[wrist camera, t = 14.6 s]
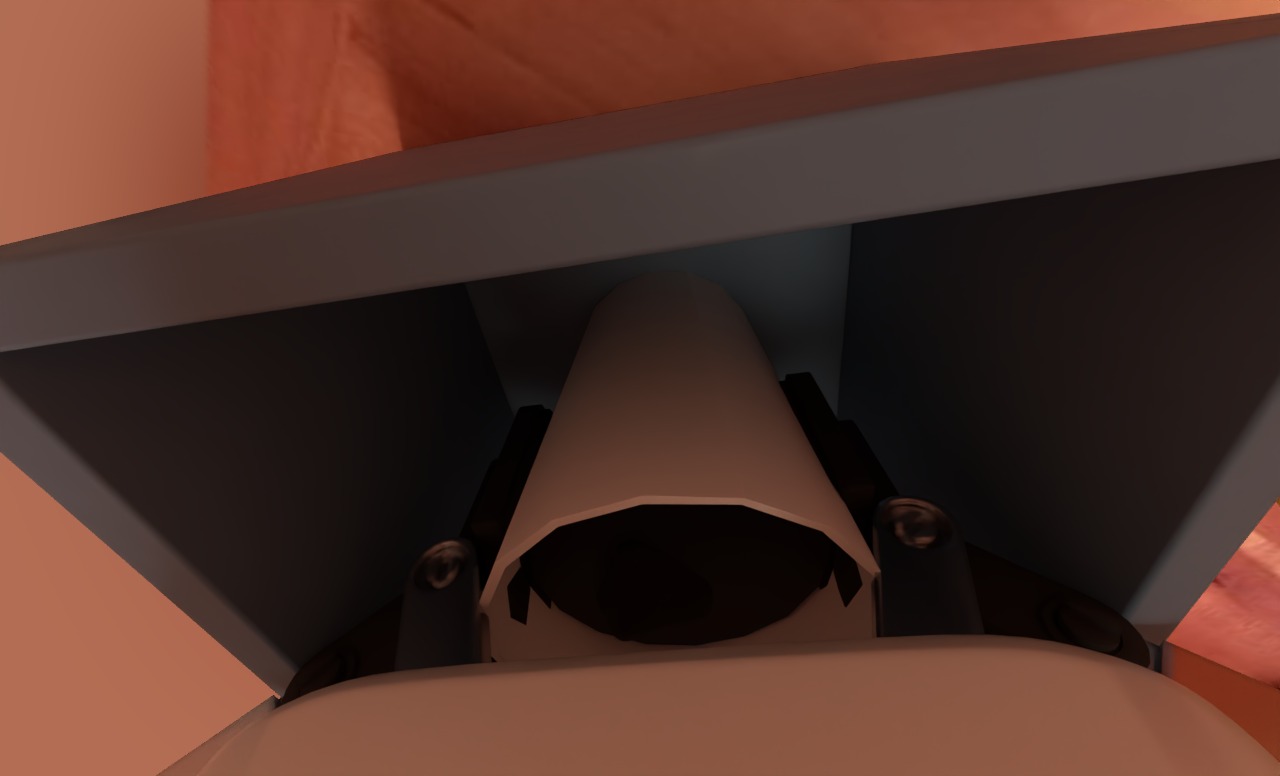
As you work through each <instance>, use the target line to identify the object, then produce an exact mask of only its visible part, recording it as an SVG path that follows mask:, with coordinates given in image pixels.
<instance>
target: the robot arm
mask: <svg viewBox="0 0 1280 776" xmlns="http://www.w3.org/2000/svg"><path fill="white" fill-rule="evenodd" d="M778 382H779V384H780V386H781V388H782V390H783V392H784V394H785V396H786V398H787V400H788V402H789V404H790V406H791V408H792V410H793V412H794V414H795V416H796V418H797V420H798V422H799V423H800V425H801V427H802V429H803V431H804V433H805V435H806V437H807V439H808V440H809V442H810V444H811V446H812V448H813V450H814V452H815V454H816V456H817V457H818V459H819V461H820V463H821V465H822V467H823V469H824V471H825V473H826V474H827V476H828V478H829V480H830V482H831V483H832V485H833V486H834V487H835V489H836V490H837V491H838V493H839V494H840V496H841V498H842V500H843V501H844V502H845V504H846V506H847V508H848V510H849V512H850V514H851V516H852V517H853V519H854V521H855V523H856V525H857V527H858V529H859V531H860V533H861V534H862V536H863V538H864V540H865V542H866V544H867V546H868V548H869V549H870V551H871V553H872V555H873V557H874V560H875V562H876V564H877V565H878V567H879V569H880V571H881V572H875V574H874V579H873V581H872V582H871V610H872V638H856V639H839V640H823V641H806V642H790V643H773V644H757V645H740V646H725V647H709V648H694V649H679V650H663V651H648V652H634V653H619V654H604V655H589V656H575V657H561V658H547V659H533V660H519V661H505V662H497V661H496V660H495V659H494V658H493V657H492V656H491V643H490V626H489V617H488V616H487V615H486V613H485V611H484V610H483V608H482V606H481V604H480V603H479V601H480V599H481V596H482V593H483V591H484V588H485V586H486V583H487V581H488V578H489V576H490V573H491V571H492V568H493V565H494V563H495V560H496V558H497V555H498V553H499V550H500V548H501V545H502V543H503V540H504V537H505V535H506V532H507V530H508V527H509V525H510V522H511V520H512V517H513V515H514V512H515V510H516V507H517V504H518V502H519V499H520V497H521V494H522V492H523V489H524V487H525V484H526V482H527V479H528V476H529V474H530V471H531V469H532V466H533V464H534V461H535V459H536V456H537V454H538V451H539V448H540V446H541V443H542V441H543V438H544V436H545V433H546V431H547V428H548V426H549V423H550V420H551V418H552V415H553V413H552V411H551V409H545V408H544V406H543V405H542V404H539V405H531V406H522V407H520V408H519V409H518V412H517V414H516V417H515V419H514V422H513V424H512V426H511V429H510V431H509V434H508V436H507V438H506V441H505V443H504V446H503V448H502V450H501V453H500V455H499V458H497V459H494V460H493V461H492V462H491V464H490V465H489V468H488V470H487V472H486V475H485V477H484V479H483V482H482V484H481V486H480V489H479V491H478V493H477V496H476V498H475V500H474V502H473V505H472V507H471V509H470V512H469V514H468V516H467V519H466V521H465V523H464V526H463V528H462V530H461V533H460V535H459V537H452V538H448V539H443V540H441V541H439V542H437V543H434V544H432V545H431V546H429V547H428V548H427V549H425V550H424V551H422V552H421V553H420V554H419V555H418V556H417V557H416V558H415V559H414V561H413V562H412V564H411V565H410V567H409V569H408V571H407V574H406V578H405V585H404V592H403V593H402V594H400V595H399V596H398V597H396V598H395V599H393V600H392V601H391V602H389V603H388V604H386V605H385V606H384V607H382V608H381V609H379V610H378V611H376V612H375V613H374V614H372V615H371V616H369V617H368V618H367V619H365V620H364V621H362V622H361V623H360V624H358V625H357V626H355V627H354V628H353V629H351V630H350V631H348V632H347V633H345V634H344V635H343V636H341V637H340V638H338V639H337V640H336V641H334V642H333V643H331V644H330V645H329V646H327V647H326V648H324V649H323V650H322V651H320V652H319V653H317V654H316V655H315V656H314V657H312V658H311V659H310V660H309V661H308V662H306V663H305V664H304V665H303V666H302V668H301V669H300V670H299V671H298V672H297V673H296V674H295V676H294V677H293V679H292V680H291V682H290V684H289V685H288V687H287V688H286V691H285V694H284V696H283V697H281V698H280V699H278V698H276V697H275V696H274V695H273V696H271V697H270V698H269V699H267V700H266V701H264V702H263V703H261V704H260V705H258V706H257V707H255V708H254V709H252V710H251V711H250V712H248V713H247V714H245V715H244V716H242V717H241V718H239V719H238V720H236V721H235V722H233V723H232V724H231V725H229V726H228V727H226V728H225V729H223V730H222V731H220V732H219V733H218V734H216V735H215V736H213V737H212V738H210V739H209V740H208V741H206V742H204V743H203V744H201V745H200V746H199V747H197V748H196V749H194V750H193V751H191V752H190V753H188V754H187V755H185V756H184V757H182V758H181V759H180V760H178V761H177V762H175V763H174V764H173V765H171V766H169V767H168V768H167V769H165V770H164V771H162V772H161V773H159V774H158V775H156V776H1280V690H1279V689H1276V688H1274V687H1272V686H1269V685H1267V684H1265V683H1262V682H1260V681H1258V680H1255V679H1253V678H1251V677H1248V676H1246V675H1244V674H1241V673H1239V672H1237V671H1234V670H1232V669H1230V668H1227V667H1225V666H1223V665H1221V664H1218V663H1216V662H1214V661H1211V660H1209V659H1207V658H1204V657H1202V656H1200V655H1197V654H1195V653H1193V652H1190V651H1188V650H1186V649H1183V648H1181V647H1179V646H1176V645H1174V644H1172V643H1169V642H1167V641H1165V640H1163V642H1162V643H1161V644H1160V646H1158V645H1156V644H1154V643H1151V642H1149V641H1147V640H1144V639H1143V637H1142V635H1141V634H1140V633H1139V632H1138V631H1137V630H1136V629H1135V627H1134V626H1133V625H1132V624H1131V623H1130V622H1129V621H1128V620H1127V619H1125V618H1124V617H1123V616H1121V615H1120V614H1119V613H1118V612H1116V611H1115V610H1114V609H1112V608H1110V607H1108V606H1107V605H1105V604H1103V603H1101V602H1099V601H1097V600H1096V599H1094V598H1091V597H1089V596H1087V595H1085V594H1082V593H1080V592H1078V591H1076V590H1073V589H1071V588H1069V587H1067V586H1064V585H1062V584H1060V583H1058V582H1055V581H1053V580H1051V579H1049V578H1046V577H1044V576H1042V575H1040V574H1037V573H1035V572H1033V571H1031V570H1028V569H1026V568H1024V567H1022V566H1019V565H1017V564H1015V563H1013V562H1010V561H1008V560H1006V559H1004V558H1001V557H999V556H997V555H995V554H993V553H990V552H988V551H986V550H984V549H981V548H979V547H977V546H975V545H972V544H970V543H968V542H966V541H964V536H963V532H962V529H961V527H960V524H959V522H958V520H957V519H956V518H955V517H954V516H953V515H952V514H951V513H950V512H949V511H948V510H947V509H945V508H944V507H942V506H941V505H939V504H937V503H935V502H933V501H931V500H928V499H926V498H922V497H917V496H913V495H899V493H898V491H897V490H896V488H895V487H894V485H893V483H892V482H891V480H890V478H889V477H888V475H887V474H886V472H885V470H884V469H883V467H882V465H881V464H880V462H879V461H878V459H877V457H876V456H875V454H874V453H873V451H872V449H871V448H870V446H869V444H868V443H867V441H866V440H865V438H864V436H863V435H862V433H861V431H860V430H859V428H858V427H857V425H856V424H855V422H854V421H853V420H850V419H849V420H840V421H838V420H837V418H836V416H835V414H834V413H833V411H832V409H831V407H830V406H829V404H828V402H827V400H826V399H825V397H824V395H823V393H822V392H821V390H820V388H819V386H818V385H817V383H816V381H815V379H814V378H813V376H812V374H811V373H810V372H802V373H793V374H786V376H785V380H783V381H778ZM829 540H830V544H831V547H832V550H831V553H830V556H829V559H828V562H827V565H826V567H825V570H824V573H823V576H822V579H821V582H820V585H819V588H820V590H821V589H823V588H825V587H826V586H827V585H828V582H829V580H830V577H831V574H832V571H833V572H834V576H835V580H836V583H837V587H838V590H839V593H840V596H841V598H842V601H843V604H844V606H845V607H846V608H847V606H848V605H849V603H850V602H851V601H852V599H853V598H854V596H855V595H856V594H857V592H858V591H859V589H860V588H861V587H862V585H863V583H862V580H861V576H860V573H859V570H858V566H857V563H856V561H855V560H854V559H853V558H852V557H851V556H850V555H849V554H847V553H846V552H845V551H844V550H843V549H842V548H841V547H839V546H838V545H837V544H836V543H835V542H834V541H833V540H832V539H830V538H829ZM519 559H520V564H521V566H520V568H519V569H518V571H517V572H516V574H515V575H514V577H513V578H512V580H511V581H510V583H509V584H508V585H507V592H508V600H509V608H510V617H511V618H512V619H514V620H516V621H518V622H520V623H522V624H524V625H526V624H527V615H528V606H529V598H530V589H531V588H532V589H533V590H534V592H535V593H536V594H537V595H538V596H539V597H540V598H541V600H542V601H543V602H544V603H545V604H546V605H547V607H548V608H549V609H551V601H552V600H551V599H550V598H549V597H548V596H547V594H546V593H545V592H544V591H543V590H542V588H541V587H540V586H539V585H538V584H537V582H536V581H535V580H534V579H533V574H532V569H531V564H530V558H529V553H528V550H527V551H526V552H525V553H523V554H522V555H521V556H520V557H519ZM521 568H522V569H521ZM833 568H834V569H833ZM530 587H531V588H530Z"/></svg>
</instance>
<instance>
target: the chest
mask: <svg viewBox="0 0 1280 776" xmlns="http://www.w3.org/2000/svg"><path fill="white" fill-rule="evenodd" d="M651 271H680V272H690V273H692V274H695V275H697V276H699V277H702V278H704V279H706V280H709V281H711V282H713V283H716V284H718V285H720V286H721V287H722V288H723V289H724V290H725V291H726V292H727V293H728V294H729V295H730V296H731V298H732V299H733V300H734V301H735V302H736V303H737V304H738V305H739V306H740V307H741V308H742V309H743V312H744V314H745V316H746V318H747V319H748V321H749V323H750V325H751V327H752V329H753V331H754V333H755V334H756V336H757V338H758V340H759V342H760V344H761V346H762V348H763V350H764V351H765V353H766V355H767V357H768V359H769V361H770V363H771V365H772V367H773V368H774V370H775V372H776V374H777V376H778V378H779V380H780V381H783V380H785V376H786V374H793V373H802V372H810V373H811V374H812V376H813V378H814V379H815V381H816V383H817V385H818V386H819V388H820V390H821V392H822V393H823V395H824V397H825V399H826V400H827V402H828V404H829V406H830V407H831V409H832V411H833V413H834V414H835V416H836V418H837V420H838V421H840V420H849V419H850V420H853V421H854V422H855V424H856V425H857V427H858V428H859V430H860V431H861V433H862V435H863V436H864V438H865V440H866V441H867V443H868V444H869V446H870V448H871V449H872V451H873V453H874V454H875V456H876V457H877V459H878V461H879V462H880V464H881V465H882V467H883V469H884V470H885V472H886V474H887V475H888V477H889V478H890V480H891V482H892V483H893V485H894V487H895V488H896V490H897V491H898V493H899V495H913V496H917V497H922V498H926V499H928V500H931V501H933V502H935V503H937V504H939V505H941V506H942V507H944V508H945V509H947V510H948V511H949V512H950V513H951V514H952V515H953V516H954V517H955V518H956V519H957V520H958V522H959V524H960V527H961V529H962V532H963V536H964V541H966V542H968V543H970V544H972V545H975V546H977V547H979V548H981V549H984V550H986V551H988V552H990V553H993V554H995V555H997V556H999V557H1001V558H1004V559H1006V560H1008V561H1010V562H1013V563H1015V564H1017V565H1019V566H1022V567H1024V568H1026V569H1028V570H1031V571H1033V572H1035V573H1037V574H1040V575H1042V576H1044V577H1046V578H1049V579H1051V580H1053V581H1055V582H1058V583H1060V584H1062V585H1064V586H1067V587H1069V588H1071V589H1073V590H1076V591H1078V592H1080V593H1082V594H1085V595H1087V596H1089V597H1091V598H1094V599H1096V600H1097V601H1099V602H1101V603H1103V604H1105V605H1107V606H1108V607H1110V608H1112V609H1114V610H1115V611H1116V612H1118V613H1119V614H1120V615H1121V616H1123V617H1124V618H1125V619H1127V620H1128V621H1129V622H1130V623H1131V624H1132V625H1133V626H1134V627H1135V629H1136V630H1137V631H1138V632H1139V633H1140V634H1141V635H1142V637H1143V639H1144V640H1147V641H1149V642H1151V643H1154V644H1156V645H1158V646H1160V644H1161V643H1162V642H1163V640H1165V641H1166V640H1167V638H1168V637H1169V636H1170V635H1171V633H1172V632H1173V631H1174V629H1175V628H1176V627H1177V626H1178V624H1179V623H1180V622H1181V621H1182V619H1183V618H1184V617H1185V616H1186V614H1187V613H1188V612H1189V610H1190V609H1191V608H1192V607H1193V605H1194V604H1195V603H1196V602H1197V600H1198V599H1199V598H1200V597H1201V595H1202V594H1203V593H1204V592H1205V590H1206V589H1207V588H1208V586H1209V585H1210V584H1211V583H1212V581H1213V580H1214V579H1215V578H1216V576H1217V575H1218V574H1219V573H1220V571H1221V570H1222V569H1223V568H1224V566H1225V565H1226V564H1227V562H1228V561H1229V560H1230V559H1231V557H1232V556H1233V555H1234V554H1235V552H1236V551H1237V550H1238V549H1239V547H1240V546H1241V545H1242V543H1243V542H1244V541H1245V540H1246V538H1247V537H1248V536H1249V535H1250V533H1251V532H1252V531H1253V530H1254V528H1255V527H1256V526H1257V525H1258V523H1259V522H1260V521H1261V519H1262V518H1263V517H1264V516H1265V514H1266V513H1267V512H1268V511H1269V509H1270V508H1271V507H1272V506H1273V504H1274V503H1275V502H1276V501H1277V499H1278V498H1279V497H1280V13H1277V14H1269V15H1261V16H1253V17H1245V18H1237V19H1229V20H1221V21H1213V22H1205V23H1197V24H1189V25H1181V26H1173V27H1165V28H1157V29H1149V30H1140V31H1132V32H1124V33H1116V34H1108V35H1100V36H1092V37H1084V38H1076V39H1068V40H1060V41H1052V42H1044V43H1036V44H1028V45H1020V46H1012V47H1004V48H996V49H988V50H980V51H972V52H964V53H956V54H948V55H940V56H932V57H924V58H916V59H908V60H900V61H891V62H883V63H878V64H872V65H867V66H861V67H856V68H850V69H845V70H840V71H834V72H829V73H823V74H818V75H812V76H807V77H801V78H796V79H790V80H785V81H779V82H774V83H768V84H763V85H757V86H752V87H746V88H741V89H736V90H730V91H725V92H719V93H714V94H708V95H703V96H697V97H692V98H686V99H681V100H675V101H670V102H664V103H659V104H653V105H648V106H643V107H637V108H632V109H626V110H621V111H615V112H610V113H604V114H599V115H593V116H588V117H582V118H577V119H571V120H566V121H560V122H555V123H549V124H544V125H539V126H533V127H528V128H522V129H517V130H511V131H506V132H500V133H495V134H489V135H484V136H478V137H473V138H467V139H462V140H456V141H451V142H446V143H440V144H435V145H429V146H424V147H418V148H413V149H407V150H402V151H398V152H393V153H389V154H385V155H381V156H377V157H372V158H368V159H364V160H360V161H355V162H351V163H347V164H343V165H339V166H334V167H330V168H326V169H322V170H318V171H313V172H309V173H305V174H301V175H296V176H292V177H288V178H284V179H280V180H275V181H271V182H267V183H263V184H258V185H254V186H250V187H246V188H242V189H237V190H233V191H229V192H225V193H220V194H216V195H212V196H208V197H204V198H199V199H195V200H191V201H187V202H183V203H178V204H174V205H170V206H166V207H161V208H157V209H153V210H149V211H145V212H141V213H136V214H132V215H128V216H123V217H119V218H116V219H111V220H107V221H102V222H99V223H94V224H90V225H85V226H81V227H77V228H73V229H69V230H64V231H60V232H56V233H52V234H47V235H43V236H39V237H35V238H31V239H26V240H23V241H18V242H14V243H10V244H5V245H1V246H0V452H1V453H2V454H3V455H4V456H6V457H7V458H8V459H9V460H10V461H11V462H12V463H14V464H15V465H16V466H17V467H18V468H19V469H21V470H22V471H23V472H24V473H25V474H26V475H27V476H29V477H30V478H31V479H32V480H33V481H34V482H35V483H37V484H38V485H39V486H40V487H41V488H42V489H44V490H45V491H46V492H47V493H48V494H49V495H50V496H51V497H53V498H54V499H55V500H56V501H57V502H58V503H59V504H61V505H62V506H63V507H64V508H65V509H66V510H67V511H69V512H70V513H71V514H72V515H73V516H74V517H76V518H77V519H78V520H79V521H80V522H81V523H82V524H83V525H85V526H86V527H87V528H88V529H89V530H90V531H92V532H93V533H94V534H95V535H96V536H97V537H98V538H100V539H101V540H102V541H103V542H104V543H105V544H107V545H108V546H109V547H110V548H111V549H112V550H113V551H114V552H116V553H117V554H118V555H119V556H120V557H121V558H122V559H124V560H125V561H126V562H127V563H128V564H129V565H131V566H132V567H133V568H134V569H135V570H136V571H137V572H138V573H140V574H141V575H142V576H143V577H144V578H145V579H146V580H148V581H149V582H150V583H151V584H152V585H153V586H154V587H156V588H157V589H158V590H159V591H160V592H161V593H163V594H164V595H165V596H166V597H167V598H168V599H169V600H171V601H172V602H173V603H174V604H175V605H176V606H177V607H179V608H180V609H181V610H182V611H183V612H184V613H185V614H187V615H188V616H189V617H190V618H191V619H192V620H193V621H195V622H196V623H197V624H198V625H199V626H200V627H201V628H203V629H204V630H205V631H206V632H207V633H208V634H209V635H211V636H212V637H213V638H214V639H215V640H216V641H218V642H219V643H220V644H221V645H222V646H223V647H224V648H226V649H227V650H228V651H229V652H230V653H231V654H232V655H233V656H235V657H236V658H237V659H238V660H239V661H241V662H242V663H243V664H244V665H245V666H246V667H247V668H248V669H250V670H251V671H252V672H253V673H254V674H255V675H256V676H258V677H259V678H260V679H261V680H262V681H263V682H265V683H266V684H267V685H268V686H269V687H270V688H271V689H272V690H274V691H275V692H276V693H277V694H278V695H280V696H281V697H283V696H284V694H285V691H286V688H287V687H288V685H289V684H290V682H291V680H292V679H293V677H294V676H295V674H296V673H297V672H298V671H299V670H300V669H301V668H302V666H303V665H304V664H305V663H306V662H308V661H309V660H310V659H311V658H312V657H314V656H315V655H316V654H317V653H319V652H320V651H322V650H323V649H324V648H326V647H327V646H329V645H330V644H331V643H333V642H334V641H336V640H337V639H338V638H340V637H341V636H343V635H344V634H345V633H347V632H348V631H350V630H351V629H353V628H354V627H355V626H357V625H358V624H360V623H361V622H362V621H364V620H365V619H367V618H368V617H369V616H371V615H372V614H374V613H375V612H376V611H378V610H379V609H381V608H382V607H384V606H385V605H386V604H388V603H389V602H391V601H392V600H393V599H395V598H396V597H398V596H399V595H400V594H402V593H403V592H404V585H405V578H406V574H407V571H408V569H409V567H410V565H411V564H412V562H413V561H414V559H415V558H416V557H417V556H418V555H419V554H420V553H421V552H422V551H424V550H425V549H427V548H428V547H429V546H431V545H432V544H434V543H437V542H439V541H441V540H443V539H448V538H452V537H459V535H460V533H461V530H462V528H463V526H464V523H465V521H466V519H467V516H468V514H469V512H470V509H471V507H472V505H473V502H474V500H475V498H476V496H477V493H478V491H479V489H480V486H481V484H482V482H483V479H484V477H485V475H486V472H487V470H488V468H489V465H490V464H491V462H492V461H493V460H494V459H497V458H499V455H500V453H501V450H502V448H503V446H504V443H505V441H506V438H507V436H508V434H509V431H510V429H511V426H512V424H513V422H514V419H515V417H516V414H517V412H518V409H519V408H520V407H522V406H531V405H539V404H542V405H543V406H544V408H545V409H551V411H552V413H554V410H555V408H556V405H557V403H558V400H559V398H560V395H561V392H562V390H563V387H564V385H565V382H566V380H567V377H568V375H569V372H570V370H571V367H572V364H573V362H574V359H575V357H576V354H577V352H578V349H579V347H580V344H581V342H582V339H583V336H584V333H585V331H586V328H587V326H588V323H589V321H590V318H591V316H592V313H593V311H594V308H595V306H596V305H598V304H599V303H600V302H601V301H602V300H603V299H604V298H605V297H606V296H607V295H608V294H609V293H610V292H611V291H612V290H613V289H614V288H615V287H616V286H617V285H618V284H620V283H622V282H625V281H628V280H630V279H633V278H635V277H638V276H641V275H643V274H646V273H648V272H651Z"/></svg>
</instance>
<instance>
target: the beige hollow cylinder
mask: <svg viewBox="0 0 1280 776" xmlns="http://www.w3.org/2000/svg"><path fill="white" fill-rule="evenodd" d="M778 381H780V380H779V378H778V376H777V374H776V372H775V370H774V368H773V367H772V365H771V363H770V361H769V359H768V357H767V355H766V353H765V351H764V350H763V348H762V346H761V344H760V342H759V340H758V338H757V336H756V334H755V333H754V331H753V329H752V327H751V325H750V323H749V321H748V319H747V318H746V316H745V314H744V312H743V309H742V308H741V307H740V306H739V305H738V304H737V303H736V302H735V301H734V300H733V299H732V298H731V296H730V295H729V294H728V293H727V292H726V291H725V290H724V289H723V288H722V287H721V286H720V285H718V284H716V283H713V282H711V281H709V280H706V279H704V278H702V277H699V276H697V275H695V274H692V273H690V272H680V271H651V272H648V273H646V274H643V275H641V276H638V277H635V278H633V279H630V280H628V281H625V282H622V283H620V284H618V285H617V286H616V287H615V288H614V289H613V290H612V291H611V292H610V293H609V294H608V295H607V296H606V297H605V298H604V299H603V300H602V301H601V302H600V303H599V304H598V305H596V306H595V308H594V311H593V313H592V316H591V318H590V321H589V323H588V326H587V328H586V331H585V333H584V336H583V339H582V342H581V344H580V347H579V349H578V352H577V354H576V357H575V359H574V362H573V364H572V367H571V370H570V372H569V375H568V377H567V380H566V382H565V385H564V387H563V390H562V392H561V395H560V398H559V400H558V403H557V405H556V408H555V410H554V413H553V415H552V418H551V420H550V423H549V426H548V428H547V431H546V433H545V436H544V438H543V441H542V443H541V446H540V448H539V451H538V454H537V456H536V459H535V461H534V464H533V466H532V469H531V471H530V474H529V476H528V479H527V482H526V484H525V487H524V489H523V492H522V494H521V497H520V499H519V502H518V504H517V507H516V510H515V512H514V515H513V517H512V520H511V522H510V525H509V527H508V530H507V532H506V535H505V537H504V540H503V543H502V545H501V548H500V550H499V553H498V555H497V558H496V560H495V563H494V565H493V568H492V571H491V573H490V576H489V578H488V581H487V583H486V586H485V588H484V591H483V593H482V596H481V599H480V601H479V603H480V604H481V606H482V608H483V610H484V611H485V613H486V615H487V616H488V617H489V626H490V643H491V656H492V657H493V658H494V659H495V660H496V661H497V662H505V661H519V660H533V659H547V658H561V657H575V656H589V655H604V654H619V653H634V652H648V651H663V650H679V649H694V648H709V647H725V646H740V645H757V644H773V643H790V642H806V641H823V640H839V639H856V638H872V610H871V582H872V581H873V579H874V574H875V572H881V571H880V569H879V567H878V565H877V564H876V562H875V560H874V557H873V555H872V553H871V551H870V549H869V548H868V546H867V544H866V542H865V540H864V538H863V536H862V534H861V533H860V531H859V529H858V527H857V525H856V523H855V521H854V519H853V517H852V516H851V514H850V512H849V510H848V508H847V506H846V504H845V502H844V501H843V500H842V498H841V496H840V494H839V493H838V491H837V490H836V489H835V487H834V486H833V485H832V483H831V482H830V480H829V478H828V476H827V474H826V473H825V471H824V469H823V467H822V465H821V463H820V461H819V459H818V457H817V456H816V454H815V452H814V450H813V448H812V446H811V444H810V442H809V440H808V439H807V437H806V435H805V433H804V431H803V429H802V427H801V425H800V423H799V422H798V420H797V418H796V416H795V414H794V412H793V410H792V408H791V406H790V404H789V402H788V400H787V398H786V396H785V394H784V392H783V390H782V388H781V386H780V384H779V382H778ZM829 538H830V539H832V540H833V541H834V542H835V543H836V544H837V545H838V546H839V547H841V548H842V549H843V550H844V551H845V552H846V553H847V554H849V555H850V556H851V557H852V558H853V559H854V560H855V561H856V563H857V566H858V570H859V573H860V576H861V580H862V583H863V585H862V587H861V588H860V589H859V591H858V592H857V594H856V595H855V596H854V598H853V599H852V601H851V602H850V603H849V605H848V606H847V608H846V607H845V606H844V604H843V601H842V598H841V596H840V593H839V590H838V587H837V583H836V580H835V576H834V572H833V571H832V574H831V577H830V580H829V582H828V585H827V586H826V587H825V588H823V589H821V590H820V588H819V585H820V582H821V579H822V576H823V573H824V570H825V567H826V565H827V562H828V559H829V556H830V553H831V550H832V547H831V544H830V540H829ZM527 550H528V553H529V558H530V564H531V569H532V574H533V579H534V580H535V581H536V582H537V584H538V585H539V586H540V587H541V588H542V590H543V591H544V592H545V593H546V594H547V596H548V597H549V598H550V599H551V600H552V601H551V609H549V608H548V607H547V605H546V604H545V603H544V602H543V601H542V600H541V598H540V597H539V596H538V595H537V594H536V593H535V592H534V590H533V589H532V588H531V587H530V588H531V589H530V598H529V606H528V615H527V624H526V625H524V624H522V623H520V622H518V621H516V620H514V619H512V618H511V617H510V608H509V600H508V592H507V585H508V584H509V583H510V581H511V580H512V578H513V577H514V575H515V574H516V572H517V571H518V569H519V568H520V566H521V564H520V559H519V557H520V556H521V555H522V554H523V553H525V552H526V551H527ZM521 569H522V568H521ZM833 569H834V568H833Z"/></svg>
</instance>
